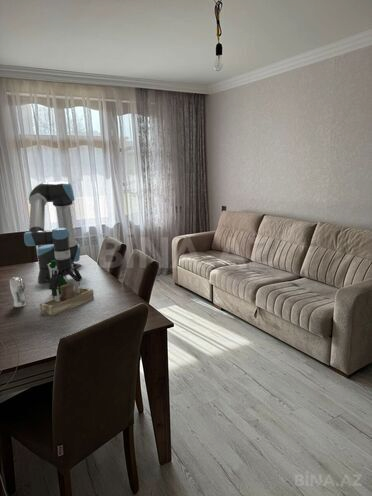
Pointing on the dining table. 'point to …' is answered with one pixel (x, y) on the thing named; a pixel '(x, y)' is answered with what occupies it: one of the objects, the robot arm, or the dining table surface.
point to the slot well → (66, 302)
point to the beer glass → (18, 291)
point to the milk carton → (63, 281)
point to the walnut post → (66, 292)
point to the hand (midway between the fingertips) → (67, 297)
